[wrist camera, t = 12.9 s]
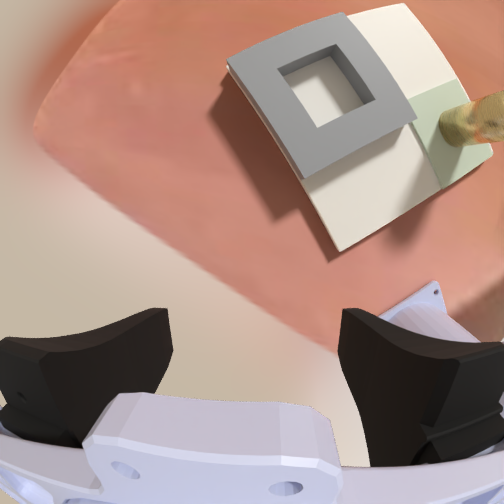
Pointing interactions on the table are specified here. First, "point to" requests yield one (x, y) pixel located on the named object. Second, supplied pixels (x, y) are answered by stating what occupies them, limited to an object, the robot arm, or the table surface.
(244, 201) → the table surface
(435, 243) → the table surface
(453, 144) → the brass cylinder
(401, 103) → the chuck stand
